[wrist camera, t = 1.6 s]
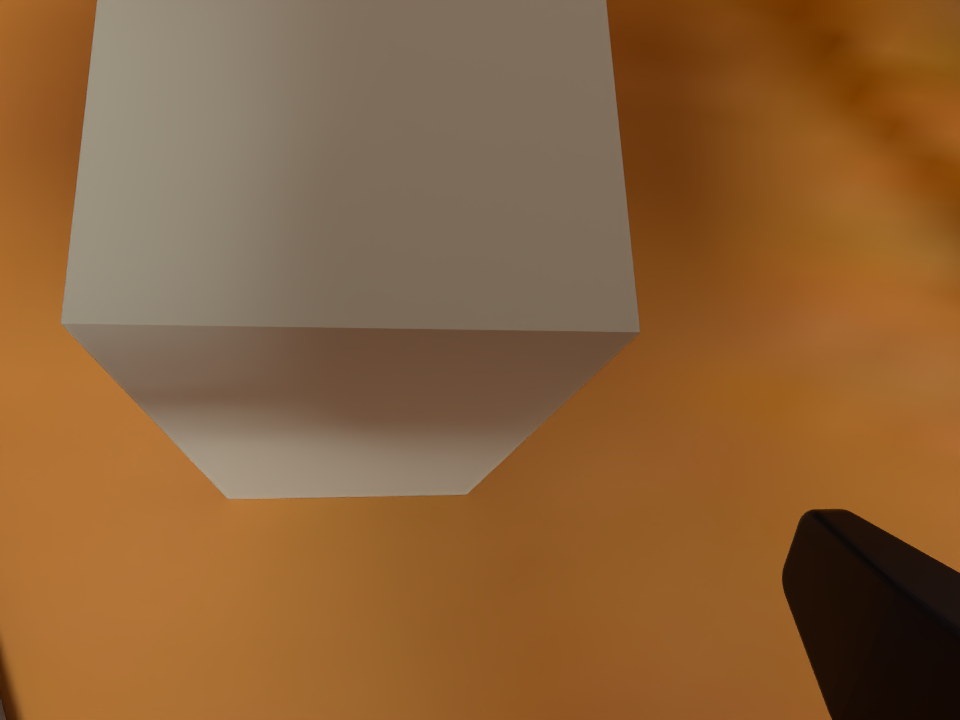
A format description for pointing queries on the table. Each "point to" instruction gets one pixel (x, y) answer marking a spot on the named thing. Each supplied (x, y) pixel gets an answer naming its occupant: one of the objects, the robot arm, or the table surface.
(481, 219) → the sage pillar
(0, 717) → the slate mat
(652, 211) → the table surface
